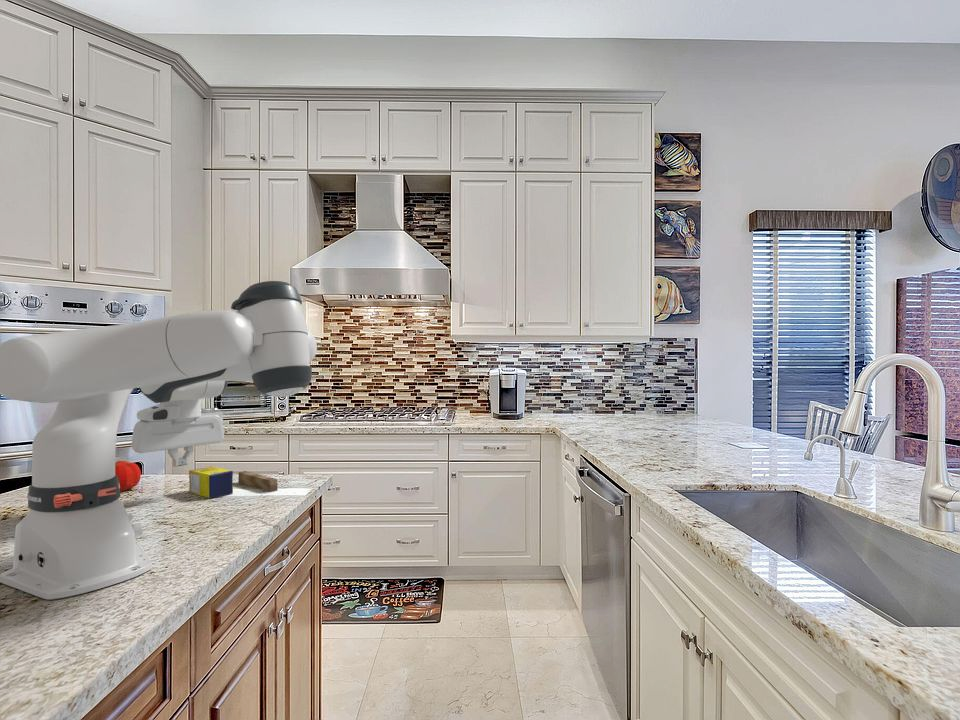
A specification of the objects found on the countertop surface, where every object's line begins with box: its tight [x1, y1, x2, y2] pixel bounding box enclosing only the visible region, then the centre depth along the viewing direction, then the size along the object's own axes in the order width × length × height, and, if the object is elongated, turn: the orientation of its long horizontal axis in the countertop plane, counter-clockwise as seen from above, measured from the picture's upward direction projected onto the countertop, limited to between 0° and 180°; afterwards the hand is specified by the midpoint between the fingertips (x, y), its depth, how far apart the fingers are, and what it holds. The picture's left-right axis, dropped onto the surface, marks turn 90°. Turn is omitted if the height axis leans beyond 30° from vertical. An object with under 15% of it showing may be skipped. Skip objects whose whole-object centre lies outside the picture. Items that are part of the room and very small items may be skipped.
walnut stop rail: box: [237, 470, 278, 493], centre depth 136 cm, size 16×2×3 cm, turn 55°
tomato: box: [115, 460, 142, 493], centre depth 131 cm, size 11×11×8 cm
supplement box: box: [188, 466, 234, 499], centre depth 129 cm, size 6×6×11 cm
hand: (180, 465), depth 123 cm, fingers closed
